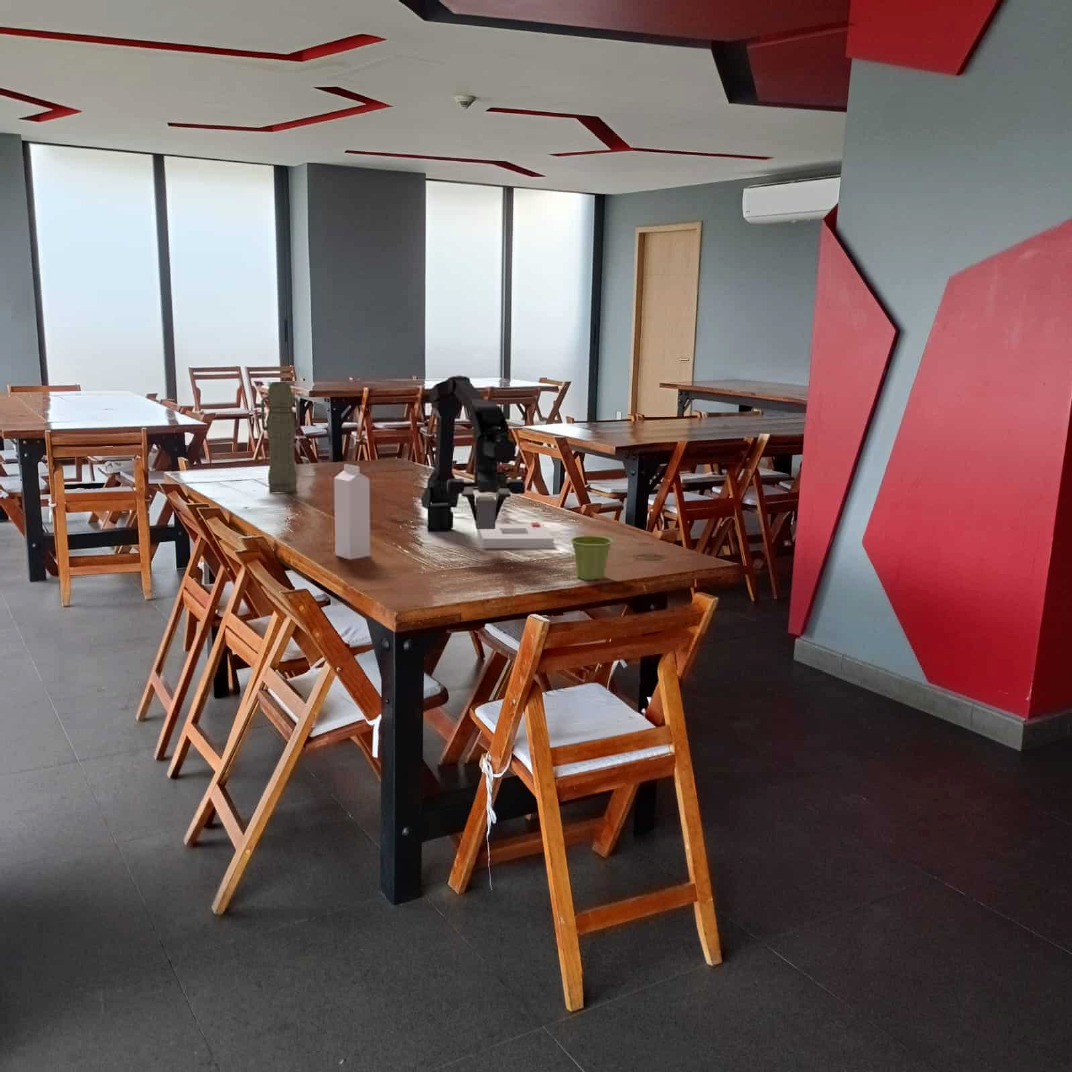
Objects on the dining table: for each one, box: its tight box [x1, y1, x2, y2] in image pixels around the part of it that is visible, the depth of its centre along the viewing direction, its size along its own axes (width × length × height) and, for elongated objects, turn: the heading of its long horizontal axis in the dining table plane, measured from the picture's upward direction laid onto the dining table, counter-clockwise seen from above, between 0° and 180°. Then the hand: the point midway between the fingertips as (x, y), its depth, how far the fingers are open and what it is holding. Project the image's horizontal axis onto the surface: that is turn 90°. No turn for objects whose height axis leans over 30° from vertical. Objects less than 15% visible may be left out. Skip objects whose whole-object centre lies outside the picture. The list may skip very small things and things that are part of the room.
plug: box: [474, 495, 496, 530], centre depth 242 cm, size 4×4×7 cm
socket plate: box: [476, 522, 554, 549], centre depth 259 cm, size 18×18×3 cm
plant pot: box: [570, 535, 613, 581], centre depth 224 cm, size 9×9×9 cm
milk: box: [333, 463, 371, 560], centre depth 236 cm, size 6×6×22 cm
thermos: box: [260, 381, 301, 493], centre depth 318 cm, size 9×12×35 cm
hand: (485, 520), depth 243 cm, fingers closed on plug, 4 cm apart
